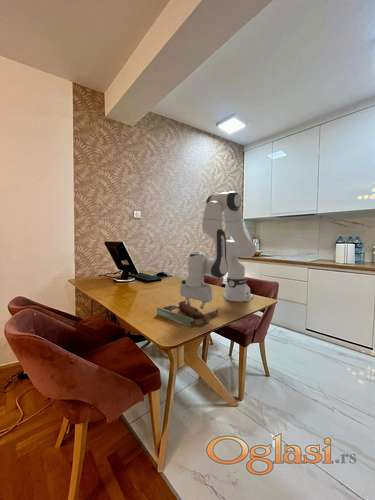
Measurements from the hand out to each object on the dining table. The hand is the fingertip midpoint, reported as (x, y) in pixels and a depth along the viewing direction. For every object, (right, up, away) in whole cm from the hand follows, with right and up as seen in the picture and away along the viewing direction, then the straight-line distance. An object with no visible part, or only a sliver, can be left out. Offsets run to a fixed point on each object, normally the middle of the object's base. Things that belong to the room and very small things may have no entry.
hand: (195, 306), depth 122 cm
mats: (-5, -3, -5) cm, 8 cm away
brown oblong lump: (-2, -3, -3) cm, 5 cm away
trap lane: (-4, -3, -5) cm, 7 cm away
